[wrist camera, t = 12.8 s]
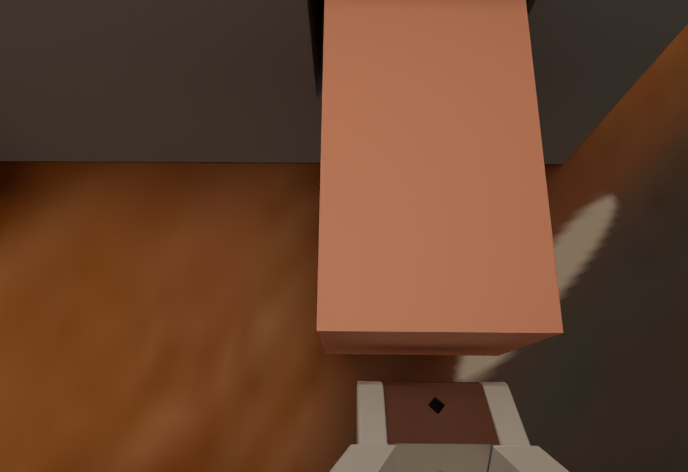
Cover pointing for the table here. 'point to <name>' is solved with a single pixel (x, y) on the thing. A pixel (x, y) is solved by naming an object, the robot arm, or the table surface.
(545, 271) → the rust plug
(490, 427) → the robot arm
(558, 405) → the table surface
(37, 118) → the block
